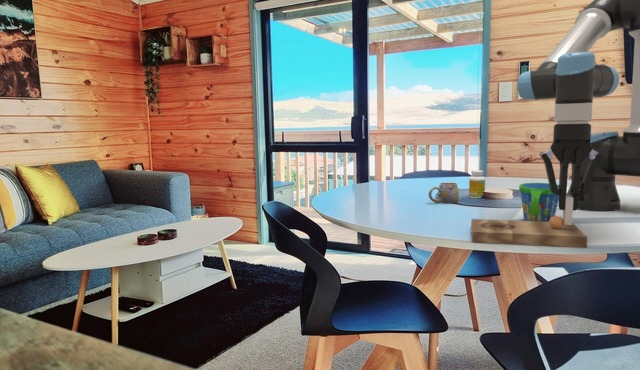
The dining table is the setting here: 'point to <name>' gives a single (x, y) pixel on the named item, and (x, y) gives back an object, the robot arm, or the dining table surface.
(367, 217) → the dining table surface
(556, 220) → the ball
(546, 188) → the snack cup
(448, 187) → the mug
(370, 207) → the dining table surface
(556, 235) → the wooden board
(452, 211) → the dining table surface
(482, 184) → the supplement bottle
